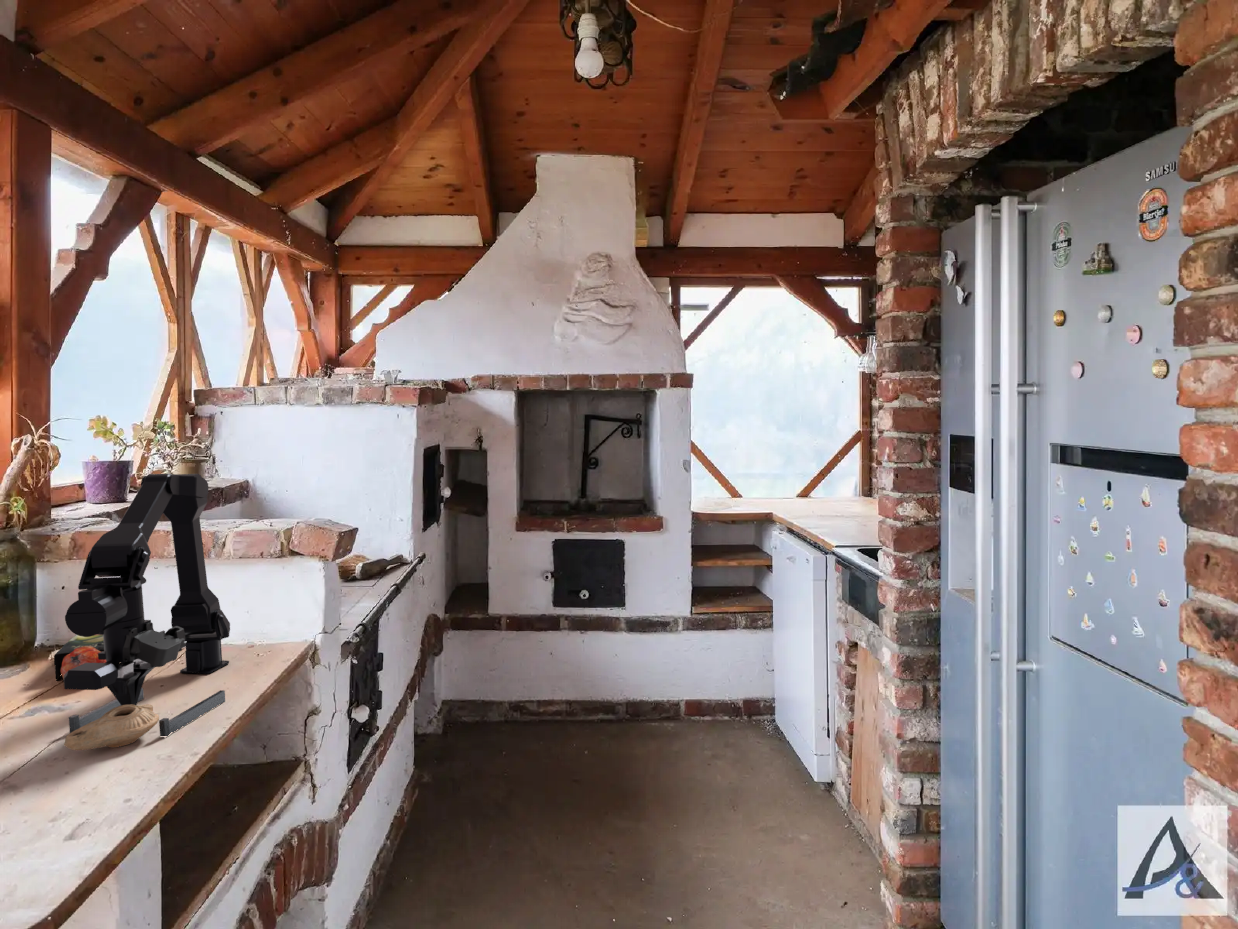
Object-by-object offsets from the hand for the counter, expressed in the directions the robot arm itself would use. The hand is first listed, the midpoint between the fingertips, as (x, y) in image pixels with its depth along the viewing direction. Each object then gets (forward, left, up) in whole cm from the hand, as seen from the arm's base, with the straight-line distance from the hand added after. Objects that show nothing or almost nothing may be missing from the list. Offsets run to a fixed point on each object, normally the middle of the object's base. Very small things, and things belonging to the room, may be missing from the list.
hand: (130, 711), depth 124 cm
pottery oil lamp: (+6, +2, -3) cm, 7 cm away
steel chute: (-4, 0, -3) cm, 5 cm away
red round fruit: (-19, -25, -3) cm, 31 cm away
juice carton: (-30, -33, -3) cm, 44 cm away
